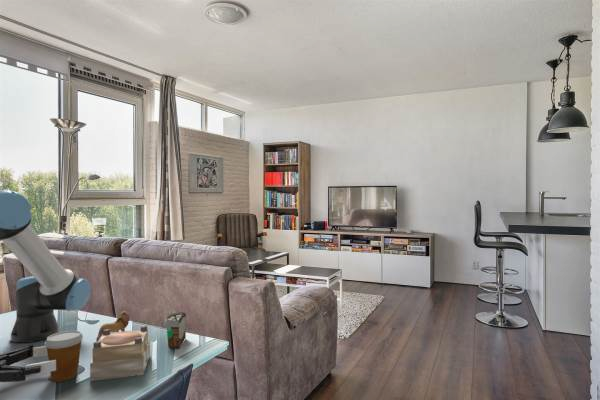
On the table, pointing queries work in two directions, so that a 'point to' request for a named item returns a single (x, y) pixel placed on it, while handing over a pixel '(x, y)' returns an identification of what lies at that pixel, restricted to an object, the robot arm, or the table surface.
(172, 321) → the food container
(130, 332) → the wooden crate
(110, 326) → the lion figurine
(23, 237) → the robot arm
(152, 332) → the table surface
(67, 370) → the disposable coffee cup
